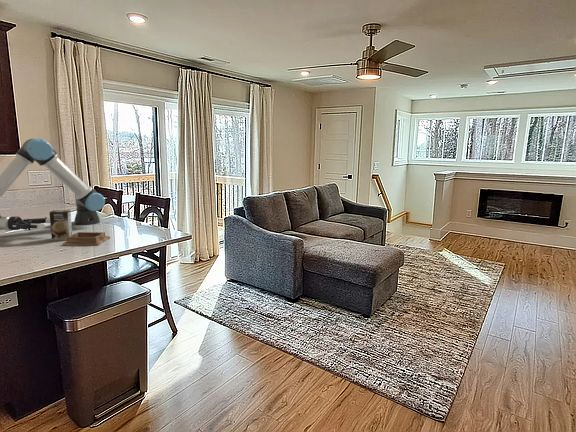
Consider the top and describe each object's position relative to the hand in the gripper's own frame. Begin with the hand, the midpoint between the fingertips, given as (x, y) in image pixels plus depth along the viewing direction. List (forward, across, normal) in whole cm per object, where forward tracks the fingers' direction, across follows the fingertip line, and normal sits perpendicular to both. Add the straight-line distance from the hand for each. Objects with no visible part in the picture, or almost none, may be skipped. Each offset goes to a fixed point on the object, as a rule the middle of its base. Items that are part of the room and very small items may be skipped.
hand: (51, 223), depth 206 cm
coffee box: (+5, 0, -9) cm, 10 cm away
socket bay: (+21, +5, -9) cm, 23 cm away
